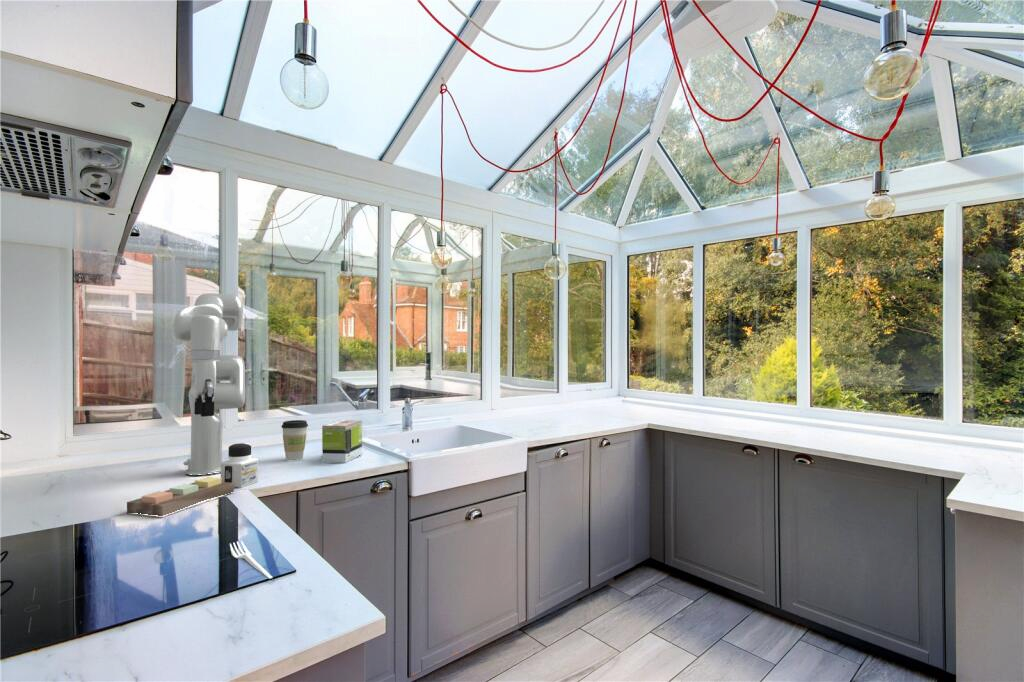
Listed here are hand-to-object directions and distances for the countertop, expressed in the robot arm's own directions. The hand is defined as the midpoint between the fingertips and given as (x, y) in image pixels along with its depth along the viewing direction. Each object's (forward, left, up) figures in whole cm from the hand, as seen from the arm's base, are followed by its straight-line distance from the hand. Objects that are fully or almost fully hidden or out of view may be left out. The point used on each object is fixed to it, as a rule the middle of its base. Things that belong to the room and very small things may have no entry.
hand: (204, 415), depth 143 cm
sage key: (-2, -4, -23) cm, 23 cm away
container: (-2, +16, -25) cm, 29 cm away
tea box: (+8, +58, -25) cm, 63 cm away
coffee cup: (-10, +52, -25) cm, 58 cm away
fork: (+47, -32, -25) cm, 62 cm away
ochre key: (-2, +4, -23) cm, 23 cm away
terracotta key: (-2, -12, -23) cm, 26 cm away
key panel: (-2, -4, -24) cm, 25 cm away
